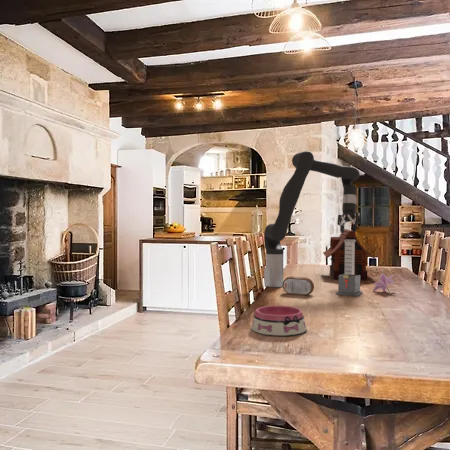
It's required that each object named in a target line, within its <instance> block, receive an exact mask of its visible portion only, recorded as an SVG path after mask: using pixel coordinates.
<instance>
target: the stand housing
mask: <svg viewBox="0 0 450 450" xmlns="http://www.w3.org/2000/svg"><path fill="white" fill-rule="evenodd" d="M337 281H338V287H337V290H338V291H335V295H338V296H339V295H340V296H348V297H358V296H360V295H363V294H364V292H363V291H362V290H361V280H360V275H354V276H347V275H345V274H342V275H339V280H337Z"/></svg>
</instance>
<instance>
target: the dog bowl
mask: <svg viewBox="0 0 450 450" xmlns="http://www.w3.org/2000/svg"><path fill="white" fill-rule="evenodd" d="M250 330H251V332H253V333H254V334H257V335H260V336H265V337H276V338H290V337H292V338H293V337H297V336H302V335H304V334H306V333H307V332H308V328H307V325H306V321H305V315H304V314H303V311H302V309H301V308H299V307H295V306H290V305H289V306H288V305H265V306H260V307H258V308H256V309H255V311H254V314H253V319H252V324H251V327H250Z"/></svg>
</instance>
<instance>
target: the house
mask: <svg viewBox="0 0 450 450" xmlns="http://www.w3.org/2000/svg"><path fill="white" fill-rule="evenodd" d="M346 239H349V240H356V242H355V261H354V275H360V281H365V282H366V281H368V270H367V265H368V263H367V259H368V256H369V257H370V258H372V259H374V260H375V259H376V256H374V255H372V254H371V253H370V252H368V251H367V250H366V249H365V248H364V246H363V245H362V244H361V242H360V240H359V239H358V236H357V235H356V232H353V229H352V230H351V229H346V228H344V233H341V232H340V235H339V236H330V241H329V242H330V245H329V248H328V249H327V250H325V251H323V252H322V254H323V255H324V256H325V258H326V259H328V258H329V257H330V258H329V260H330V261H331V263H330V265H329V274H330V276H331V278H332V279H333V280H335V281H336V280H337V281H338V280H339V275H342V274H345V242H344V240H346Z"/></svg>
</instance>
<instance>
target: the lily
mask: <svg viewBox="0 0 450 450" xmlns="http://www.w3.org/2000/svg"><path fill="white" fill-rule="evenodd" d="M393 277H394V274H392V275H389V276H388V277H387V276H386V274H385V273H384V272H383V273H381V274H380V276H379V279H378V281H376V282H374V283H373V285H374V286H375V287H374V288H373V289H372V292H373V291H374V292H375V291H377V290H379V289H381V290H382V291H383V292H386V289H387V292H388V293H389V295H390V294H391V292H390V290H389V288H388V285H391V284H394V283H395V282H396V281H395V280H393V279H392V278H393Z"/></svg>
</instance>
